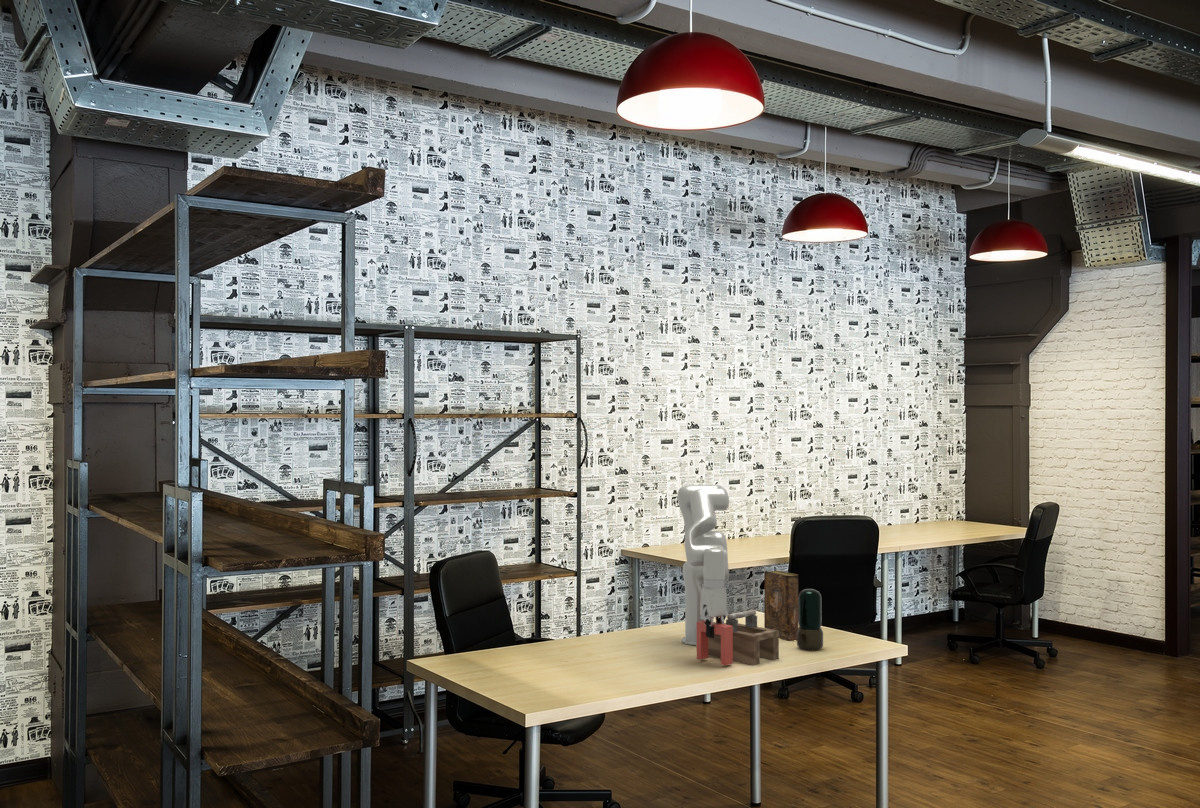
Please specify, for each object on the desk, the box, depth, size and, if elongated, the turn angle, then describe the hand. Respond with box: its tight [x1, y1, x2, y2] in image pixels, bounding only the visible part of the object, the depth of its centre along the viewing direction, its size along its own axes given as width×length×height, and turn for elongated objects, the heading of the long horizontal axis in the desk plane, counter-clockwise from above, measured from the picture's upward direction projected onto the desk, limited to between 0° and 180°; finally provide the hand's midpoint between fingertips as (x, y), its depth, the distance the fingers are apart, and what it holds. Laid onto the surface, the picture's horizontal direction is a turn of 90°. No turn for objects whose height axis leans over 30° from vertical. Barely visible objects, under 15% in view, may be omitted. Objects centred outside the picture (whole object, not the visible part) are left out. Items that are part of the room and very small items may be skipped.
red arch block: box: [696, 621, 734, 666], centre depth 347 cm, size 4×13×13 cm, turn 43°
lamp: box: [796, 588, 824, 651], centre depth 371 cm, size 10×10×22 cm
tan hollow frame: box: [708, 609, 780, 666], centre depth 357 cm, size 14×22×16 cm, turn 43°
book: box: [763, 569, 799, 642], centre depth 392 cm, size 16×6×25 cm, turn 25°
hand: (714, 635), depth 347 cm, fingers closed on red arch block, 4 cm apart
